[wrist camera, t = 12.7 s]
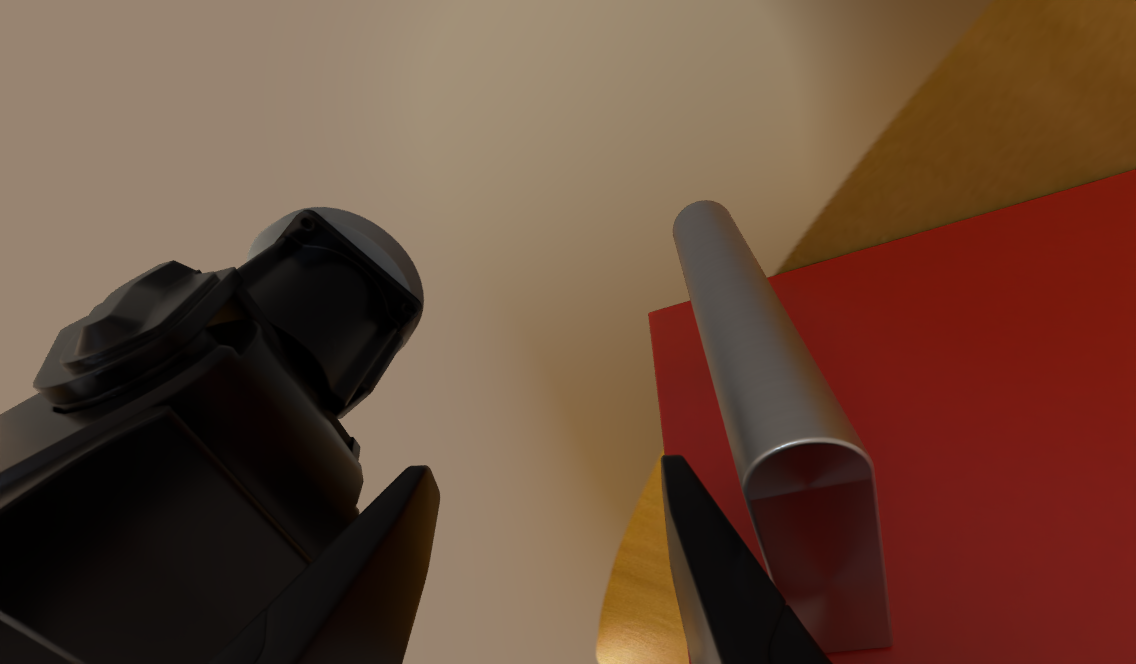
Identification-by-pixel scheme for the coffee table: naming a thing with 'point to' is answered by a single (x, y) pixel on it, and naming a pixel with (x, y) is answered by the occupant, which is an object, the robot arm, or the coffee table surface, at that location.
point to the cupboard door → (924, 428)
